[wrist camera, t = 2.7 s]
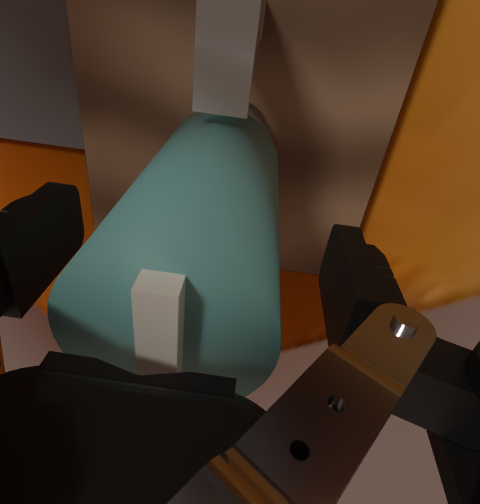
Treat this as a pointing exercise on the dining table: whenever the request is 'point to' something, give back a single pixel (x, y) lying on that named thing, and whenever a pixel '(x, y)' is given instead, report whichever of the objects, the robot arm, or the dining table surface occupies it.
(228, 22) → the square mounting plate
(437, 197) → the dining table surface
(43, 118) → the mat
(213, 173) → the teal teardrop shape
